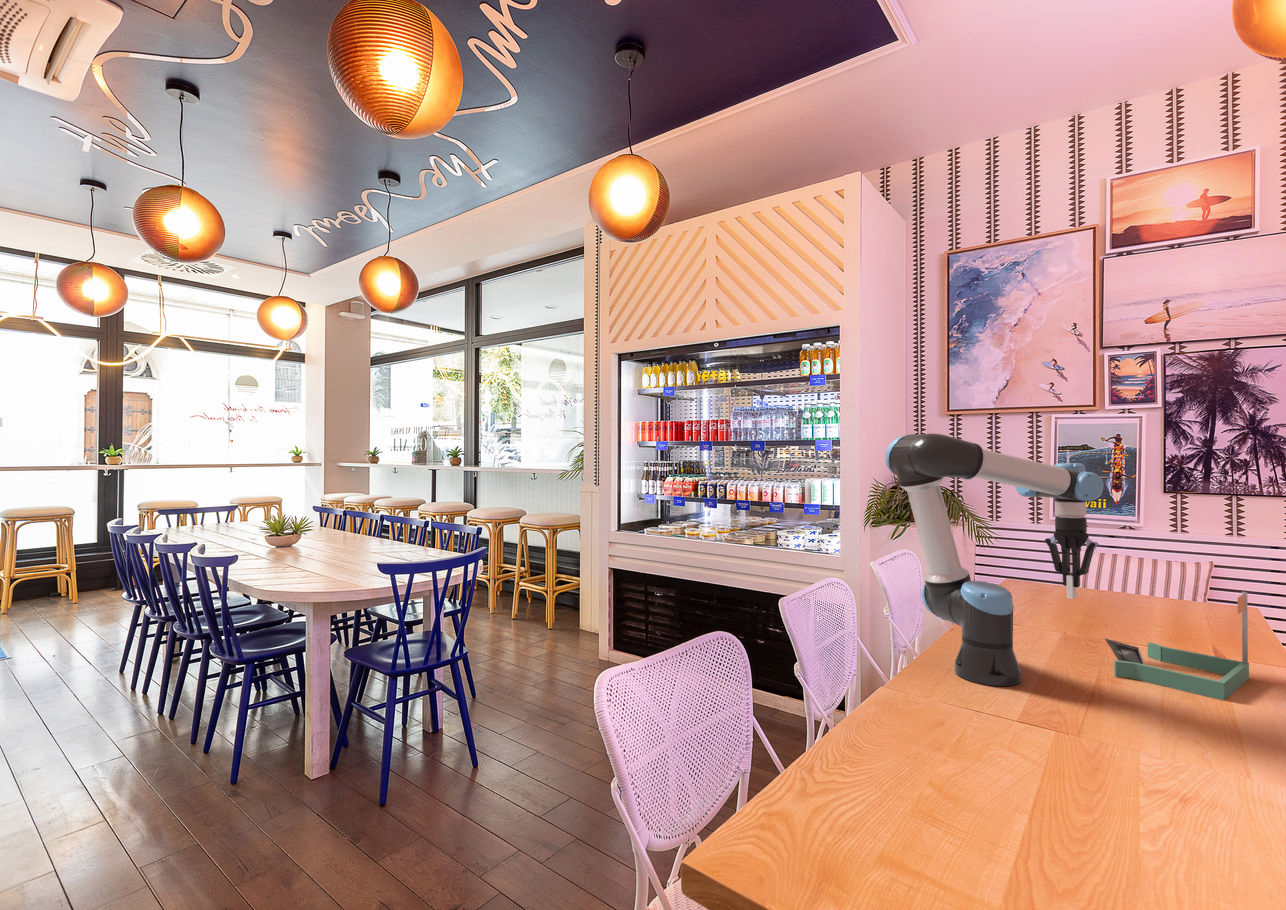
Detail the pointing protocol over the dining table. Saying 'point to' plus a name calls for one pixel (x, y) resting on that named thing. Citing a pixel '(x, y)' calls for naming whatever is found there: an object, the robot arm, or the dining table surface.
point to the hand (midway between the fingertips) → (1071, 597)
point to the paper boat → (1125, 652)
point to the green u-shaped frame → (1193, 666)
